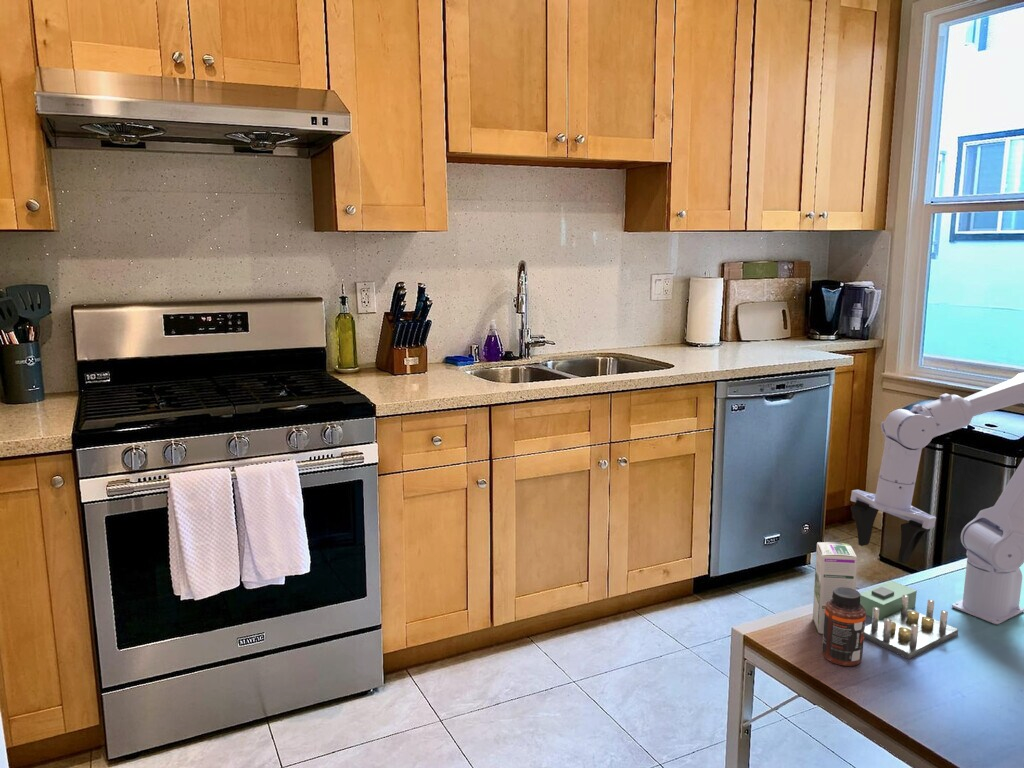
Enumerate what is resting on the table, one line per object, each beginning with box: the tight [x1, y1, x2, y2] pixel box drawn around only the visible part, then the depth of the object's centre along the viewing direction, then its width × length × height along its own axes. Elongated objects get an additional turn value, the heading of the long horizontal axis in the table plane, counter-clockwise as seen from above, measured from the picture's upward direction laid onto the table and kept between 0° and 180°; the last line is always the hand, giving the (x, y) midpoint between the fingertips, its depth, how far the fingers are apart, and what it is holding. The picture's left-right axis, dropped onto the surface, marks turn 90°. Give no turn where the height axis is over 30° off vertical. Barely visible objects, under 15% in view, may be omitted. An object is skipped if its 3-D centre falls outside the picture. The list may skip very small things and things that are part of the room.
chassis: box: [864, 595, 959, 660], centre depth 130 cm, size 14×9×4 cm, turn 122°
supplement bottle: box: [822, 587, 867, 667], centre depth 123 cm, size 6×6×11 cm
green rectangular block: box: [859, 580, 917, 620], centre depth 139 cm, size 10×5×4 cm, turn 122°
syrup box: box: [812, 541, 858, 635], centre depth 132 cm, size 6×6×14 cm
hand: (882, 552), depth 136 cm, fingers open, 7 cm apart
